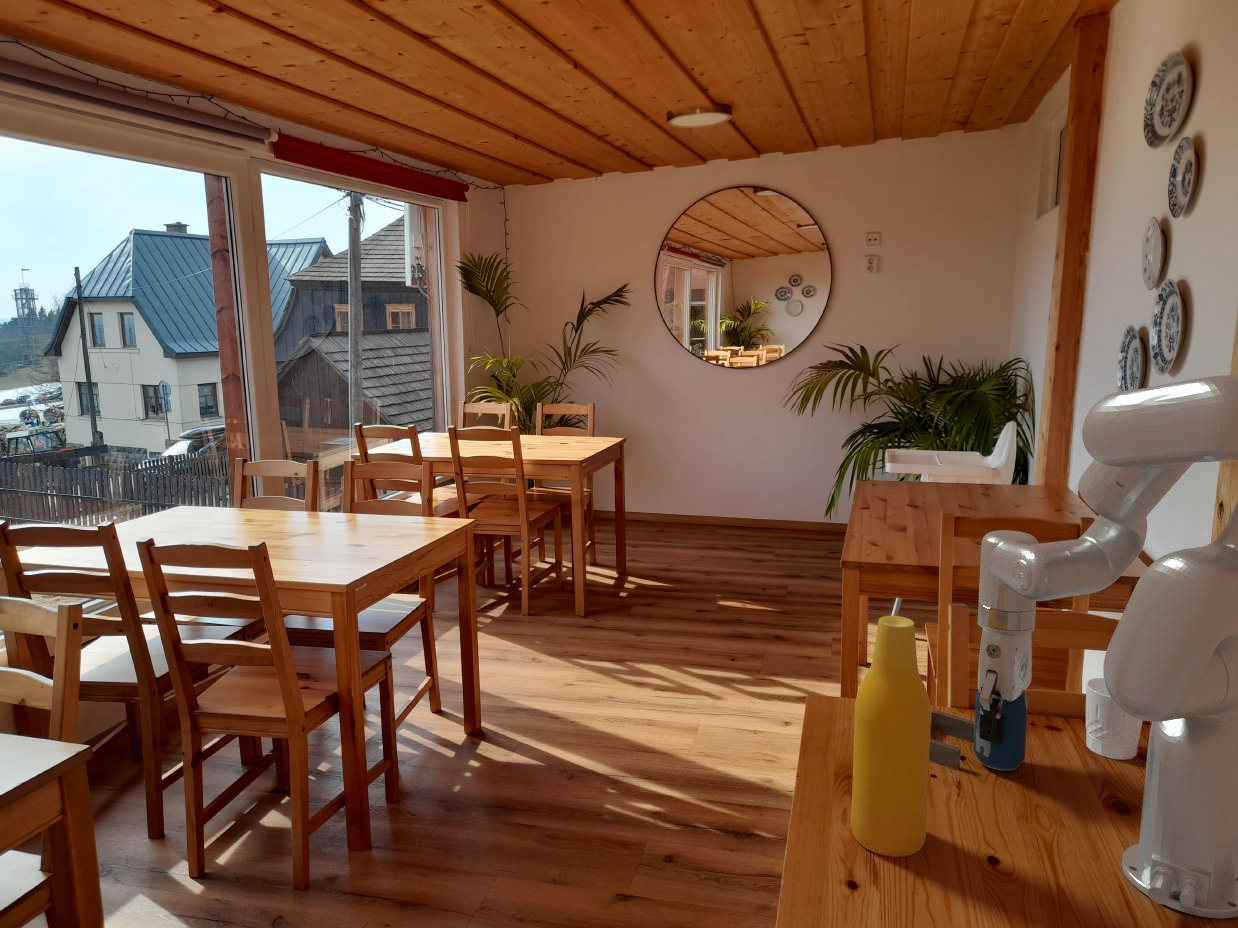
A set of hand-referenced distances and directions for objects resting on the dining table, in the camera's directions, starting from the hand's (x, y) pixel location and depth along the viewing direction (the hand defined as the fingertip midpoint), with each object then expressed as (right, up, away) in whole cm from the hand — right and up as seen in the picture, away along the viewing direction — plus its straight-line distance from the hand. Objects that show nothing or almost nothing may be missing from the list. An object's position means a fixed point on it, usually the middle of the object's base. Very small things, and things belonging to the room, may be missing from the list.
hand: (1000, 730), depth 124 cm
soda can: (0, -5, +1) cm, 5 cm away
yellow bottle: (-22, -9, -16) cm, 29 cm away
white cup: (+19, -5, +5) cm, 21 cm away
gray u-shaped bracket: (-6, -5, +7) cm, 10 cm away
